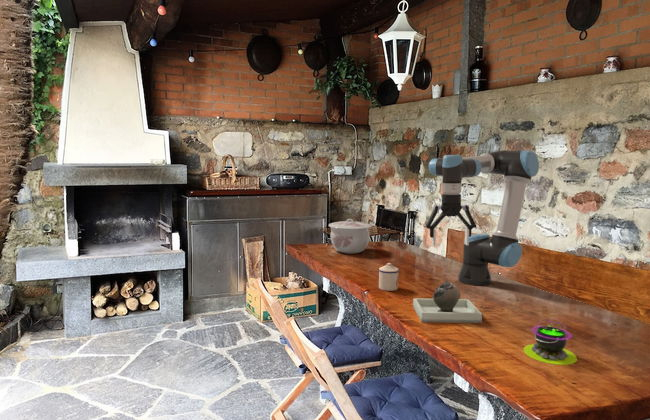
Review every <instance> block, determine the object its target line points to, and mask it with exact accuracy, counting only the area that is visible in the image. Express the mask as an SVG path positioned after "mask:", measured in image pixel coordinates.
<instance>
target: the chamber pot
mask: <svg viewBox="0 0 650 420" xmlns="http://www.w3.org/2000/svg"><path fill="white" fill-rule="evenodd" d="M328 227H329V228H330V235H329V236H330V241H331V244H332V246H333V247H334V249H335V251H337V252H339V253H342V254H351V255H354V254H359V253H362V252H364V251H365V250H366V248H367V246H368V245H369V241H370V236H371V235H370V231H369V229H371V228H373V225H372V224H371V223H367V222H364V221H357V220H356V221H355V220H354V219H352V218H347V219H346V220H344V221H343V220H342V221H341V220H340V221H335V222H331V223H329V224H328Z"/></svg>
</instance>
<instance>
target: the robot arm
mask: <svg viewBox="0 0 650 420" xmlns="http://www.w3.org/2000/svg"><path fill="white" fill-rule="evenodd" d="M539 169H540V161H539V158H538V155H537V154H536V153H535V152H534V151H532V150H525V149H523V150H520V149H519V150H496V151H491V152H485V153H481V154H480V155H472V156H470V155H469V156H462V155H461V154H447V155H446V154H445V155H444V156H443V157H442V158H440V157H439V158H437V157H436V158H432V159H431V160H430V161H429V162H428V171H429V174H431V175H432V176H437V177H442V181H441V182H442V183H441V184H442V185H441V187H442V188H441V192H442V194H441V205H436V204H435V205H433V209H432V212H431V213H430V216H429V218H428V220H427V222H426V223H425V226H424V227H425V228H426V229H429V238H431V245H432V246H433V247H436V243H437V242H436V238H437V234H436V233H437V232H436V231H437V230H436V228H437V227H438V226H439V224H440V223H441V221H442V220H443V219H445V218H446V217H456V216H457V217H458V219H459V220H460V221H461V222H462V224H464V225H465V227H466V228H464V229H465V230H464V238H463V239H464V240H463V253H462V254H463V258H462V266H461V268H460V270H459V271H460V272H459V274H458V281H459V282H461V283H463V284H466V285H471V286H472V285H473V286H487V285H490V284H491V283H492V277H491V272H490V270H489V269H490V268H489V264H491V265H494V266H495V265H496V266H499V267H502V268H503V267H504V268H513V267H514V266H516V265H517V264H518V263H519V262H520V259H521V257H522V254H523V247H522V245H521V243H519V238H518V236H517V231H518V227H519V222H520V217H521V211H522V208H523V201H524V197H525V194H526V193H525V192H526V187H527V184H529V183H531V180H532V178H533V177H535V176H537V175H538V173H539V171H540V170H539ZM481 173H482V174H493V175H494V174H495V175H499V176H500V175H501V176H502V175H503V178H504V180H505V181H506V182H505V187H504V192H503V197H502V202H501V207H500V213H499V217H498V223H497V227H496V231H495V232H494V233H492V235H490V234H489V233H488V234H487V233H475V234H474V233H473V234H472V231H473V229H476V228H477V224H476V222H475V220H474V218H473V216H472V214H471V211H470V207H469V205H468V204H463V205H462V194H461V193H462V178H474V177H477V176H478V177H479V175H480V174H481ZM440 210H441V213H440V214H439V215H438V217H437V218H436V216H437V214H438V212H439V211H440ZM462 210H463V211H464V213H465V215H466V217H467V220H469V222H468V221H467V220H466V218H465V217H464V216H463V214H462V213H461V211H462ZM435 218H436V219H435Z"/></svg>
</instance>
